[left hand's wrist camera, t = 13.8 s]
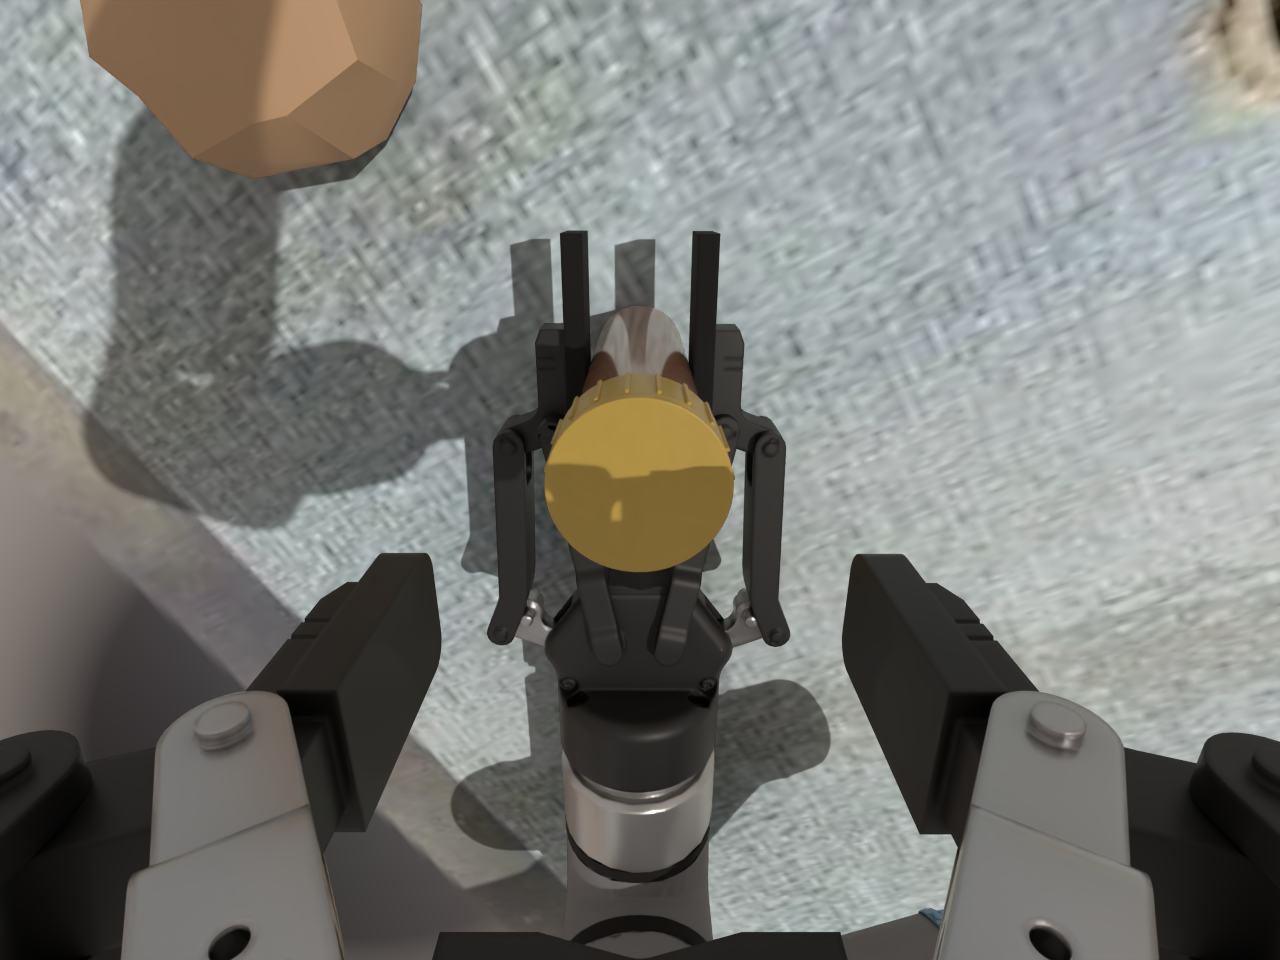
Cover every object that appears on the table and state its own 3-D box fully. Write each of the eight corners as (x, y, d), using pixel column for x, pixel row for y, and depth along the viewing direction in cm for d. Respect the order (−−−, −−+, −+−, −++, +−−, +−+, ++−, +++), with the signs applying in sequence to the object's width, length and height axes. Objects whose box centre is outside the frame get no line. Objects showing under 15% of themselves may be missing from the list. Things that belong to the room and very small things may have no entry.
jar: (608, 396, 33) (579, 567, 18) (589, 314, 32) (538, 422, 16) (688, 379, 33) (732, 539, 17) (673, 297, 32) (705, 388, 16)
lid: (575, 545, 20) (567, 590, 17) (533, 390, 18) (517, 416, 16) (736, 515, 19) (749, 557, 17) (708, 353, 17) (719, 375, 15)
